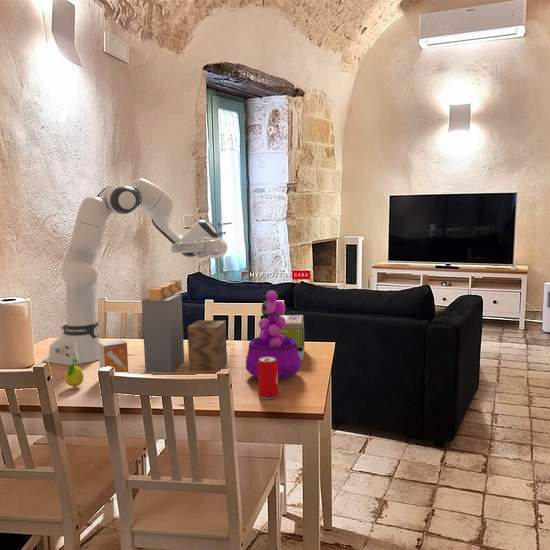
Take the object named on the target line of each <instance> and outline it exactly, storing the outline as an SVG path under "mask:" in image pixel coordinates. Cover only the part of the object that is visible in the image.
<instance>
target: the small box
mask: <svg viewBox="0 0 550 550" xmlns="http://www.w3.org/2000/svg"><path fill="white" fill-rule="evenodd" d="M99 358H100V359H99V369H100V368H102V367H106V366H111V367H114V369H115V372H128V373H129V357H128V342H127V341H125V340H124V339H122V338H121V339H120V338H119V339H112V340H108V341H107V340H106V341H101V342H100V341H99Z"/></svg>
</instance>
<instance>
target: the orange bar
mask: <svg viewBox="0 0 550 550" xmlns="http://www.w3.org/2000/svg"><path fill="white" fill-rule="evenodd" d="M182 289H183V288H182V280H178V279H176V280H175V279H174V280H169V281H167V282H163V283H160V284H158V285H155V286H153V287H150V288H148V291H147V292H148V297H149V300H152V301H160V300H162V299H164V298H167V297H169V296H171V295H173V294H179V293H180V292H181V291H182Z"/></svg>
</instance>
